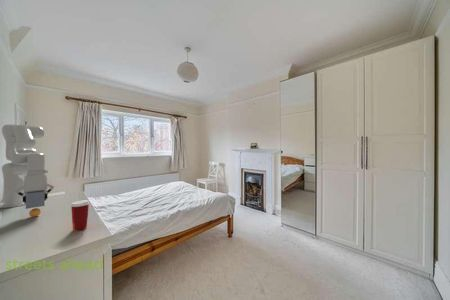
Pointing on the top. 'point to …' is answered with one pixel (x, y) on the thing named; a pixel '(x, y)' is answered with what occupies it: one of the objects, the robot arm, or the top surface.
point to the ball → (34, 212)
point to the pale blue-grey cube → (35, 199)
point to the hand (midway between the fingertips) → (35, 201)
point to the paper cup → (79, 214)
